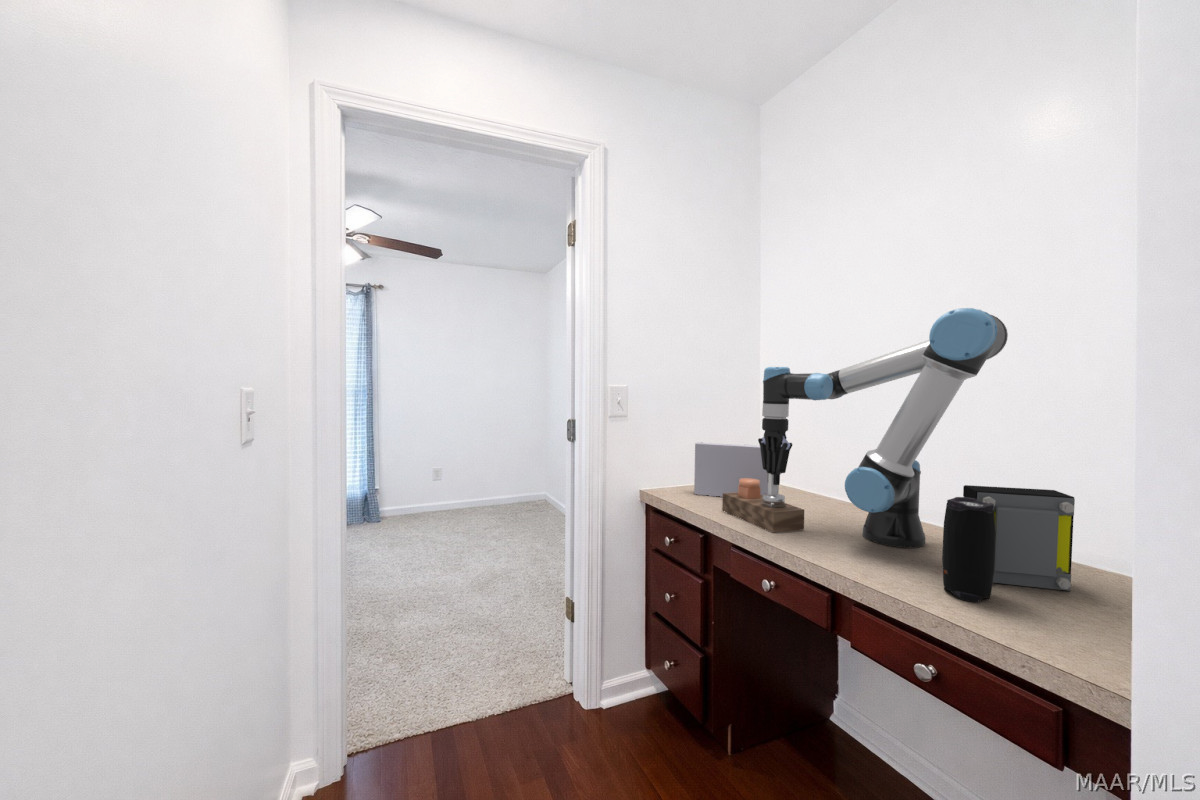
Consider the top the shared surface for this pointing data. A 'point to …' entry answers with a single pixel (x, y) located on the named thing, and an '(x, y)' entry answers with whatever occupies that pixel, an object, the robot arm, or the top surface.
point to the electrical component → (1030, 535)
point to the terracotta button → (749, 488)
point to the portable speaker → (968, 548)
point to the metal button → (773, 501)
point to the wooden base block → (764, 513)
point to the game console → (727, 468)
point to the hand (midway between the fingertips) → (773, 494)
